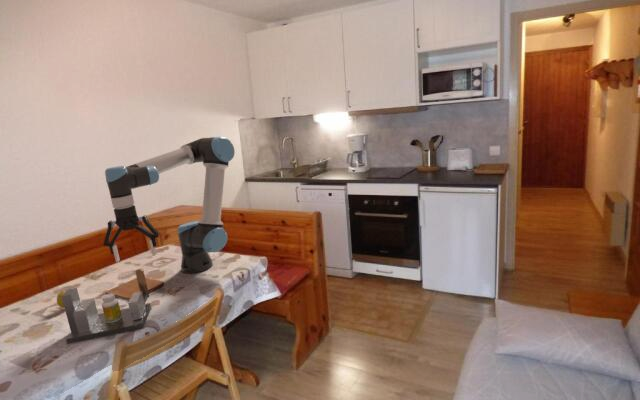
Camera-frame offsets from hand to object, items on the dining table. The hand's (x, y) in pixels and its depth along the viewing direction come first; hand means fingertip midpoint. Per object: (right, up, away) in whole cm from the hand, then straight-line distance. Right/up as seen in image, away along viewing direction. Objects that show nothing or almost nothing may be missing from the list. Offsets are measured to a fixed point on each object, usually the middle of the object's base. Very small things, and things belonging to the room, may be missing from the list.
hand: (136, 257), depth 157 cm
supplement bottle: (-4, -22, -10) cm, 24 cm away
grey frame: (-4, -24, -10) cm, 26 cm away
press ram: (+4, -19, -3) cm, 20 cm away
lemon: (-33, -23, +9) cm, 42 cm away
